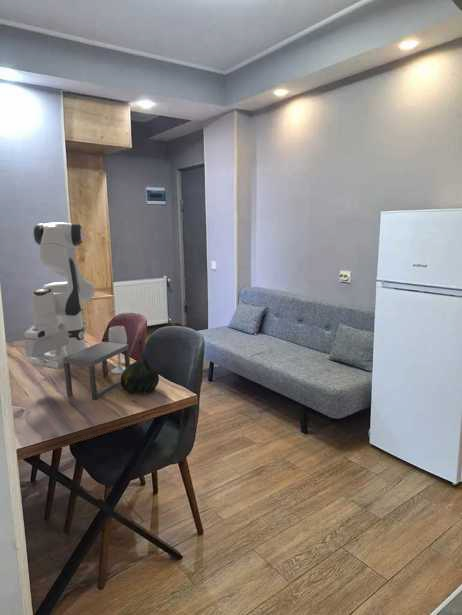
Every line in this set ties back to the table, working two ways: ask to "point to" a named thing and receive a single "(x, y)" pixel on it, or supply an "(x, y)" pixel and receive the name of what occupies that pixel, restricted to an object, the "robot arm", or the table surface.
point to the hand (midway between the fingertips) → (50, 360)
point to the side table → (92, 358)
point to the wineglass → (119, 336)
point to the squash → (140, 377)
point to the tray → (50, 361)
